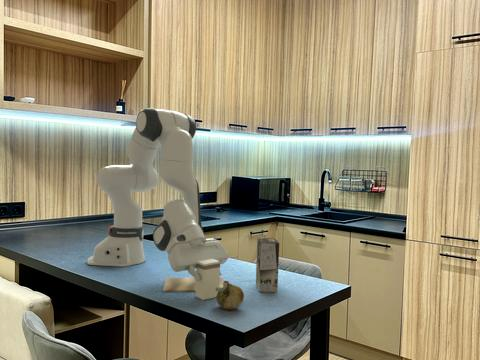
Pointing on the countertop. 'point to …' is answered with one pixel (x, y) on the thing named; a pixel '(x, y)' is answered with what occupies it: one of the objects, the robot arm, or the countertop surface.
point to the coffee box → (267, 264)
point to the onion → (229, 296)
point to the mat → (183, 284)
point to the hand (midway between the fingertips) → (209, 277)
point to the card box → (208, 278)
